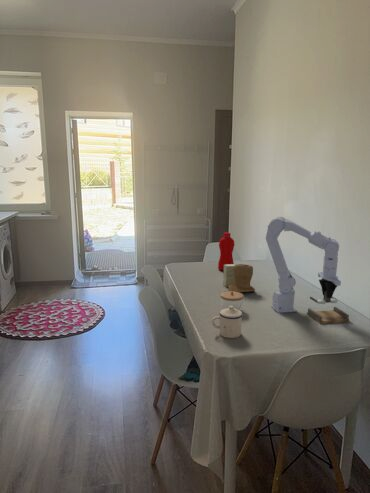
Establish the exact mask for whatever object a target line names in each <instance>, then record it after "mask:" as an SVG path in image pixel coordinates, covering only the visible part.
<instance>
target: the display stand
mask: <svg viewBox="0 0 370 493" xmlns="http://www.w3.org/2000/svg"><path fill="white" fill-rule="evenodd" d="M306 315H307V316H309V318H311V319H312V320H314V321H316V322H317V323H318V324H320V325H323V324H324V325H325V324H336V323H337V324H338V323H339V324H340V323H349V322H350V314H348V313H346V312H345V311H343V310H341V309H340V308H338V307H337V306H333V309H331V310H317V311H315V310H313V309H311V308H307V312H306ZM348 321H349V322H348Z"/></svg>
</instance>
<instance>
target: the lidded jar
mask: <svg viewBox="0 0 370 493" xmlns="http://www.w3.org/2000/svg"><path fill="white" fill-rule="evenodd" d="M219 296H220V305H221V307H222V310H223V309H227V308H229V306H233V307H234V308H235V309H237V310H241V308H242V306H243V302H244V293H242V292H234V291H229V290H226V291H223V292H221V293H220V295H219Z"/></svg>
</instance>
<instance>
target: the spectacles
mask: <svg viewBox="0 0 370 493" xmlns="http://www.w3.org/2000/svg"><path fill="white" fill-rule="evenodd" d="M309 299H310V300H312V301H313V302H315V303H316V304H321V305H325V304H327V303H328V304H329V303H330V304H338V299H337V298H335V297H333V296H332V298H327V291H324V295H323V299H322V298H321V299H320V298H318V299H316V298H314V297H313V296H309Z"/></svg>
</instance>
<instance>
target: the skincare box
mask: <svg viewBox="0 0 370 493" xmlns="http://www.w3.org/2000/svg"><path fill="white" fill-rule="evenodd" d="M235 265H236V264H226V265H224V271H223V274H222V275H223V277H222V279H223V280H222V281H223V282H222V285H223V286H224V287H226V288H229V285H233V284H234V283H235V277H234V266H235Z"/></svg>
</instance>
